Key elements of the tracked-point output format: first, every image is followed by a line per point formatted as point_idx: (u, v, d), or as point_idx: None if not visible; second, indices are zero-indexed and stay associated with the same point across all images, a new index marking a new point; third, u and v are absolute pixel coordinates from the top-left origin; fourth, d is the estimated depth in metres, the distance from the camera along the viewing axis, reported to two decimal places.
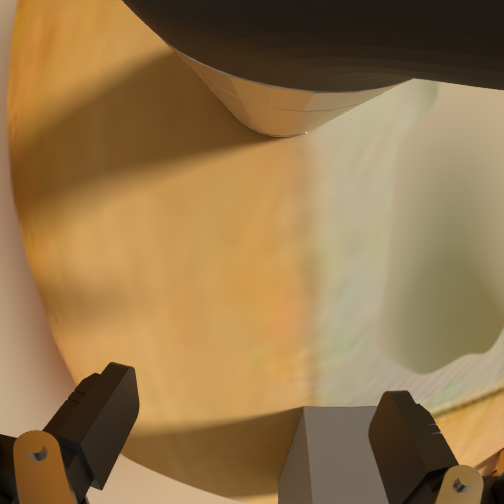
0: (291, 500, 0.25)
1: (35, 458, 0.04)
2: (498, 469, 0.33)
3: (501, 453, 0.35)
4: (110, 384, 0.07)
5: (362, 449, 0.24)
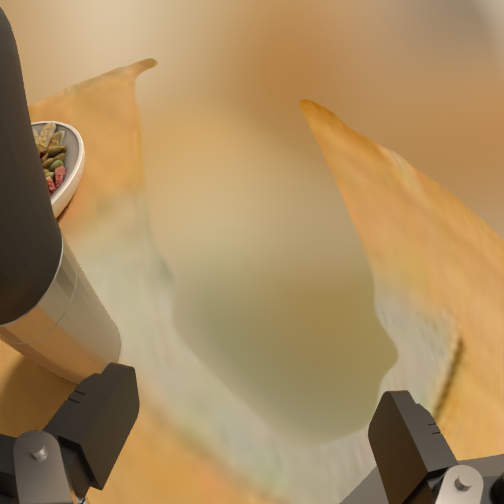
0: None
1: (35, 458, 0.04)
2: None
3: None
4: (110, 384, 0.07)
5: None
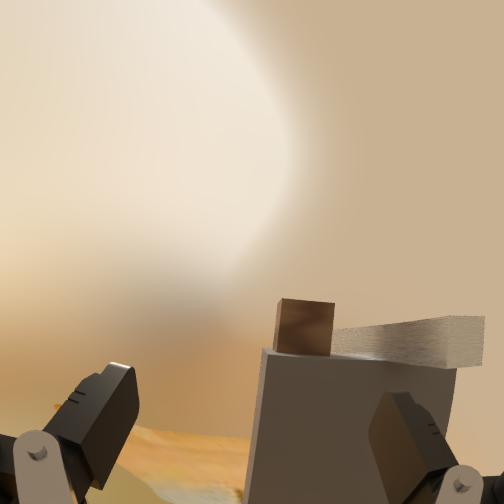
0: None
1: (35, 458, 0.04)
2: None
3: None
4: (110, 384, 0.07)
5: None
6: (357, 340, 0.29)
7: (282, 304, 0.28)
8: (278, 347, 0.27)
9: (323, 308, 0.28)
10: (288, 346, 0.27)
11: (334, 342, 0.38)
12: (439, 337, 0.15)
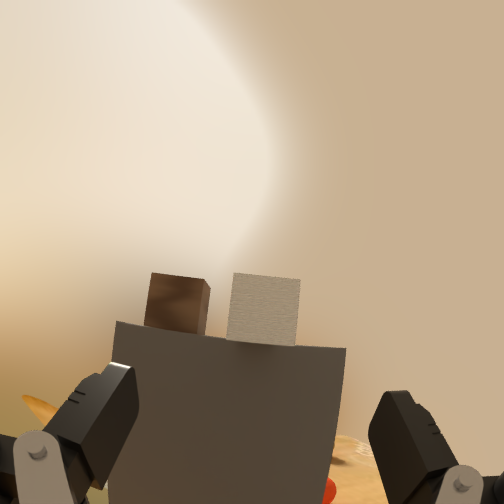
0: None
1: (35, 458, 0.04)
2: None
3: None
4: (110, 384, 0.07)
5: None
6: None
7: (151, 278, 0.27)
8: (145, 321, 0.26)
9: (191, 283, 0.27)
10: (154, 321, 0.26)
11: None
12: None
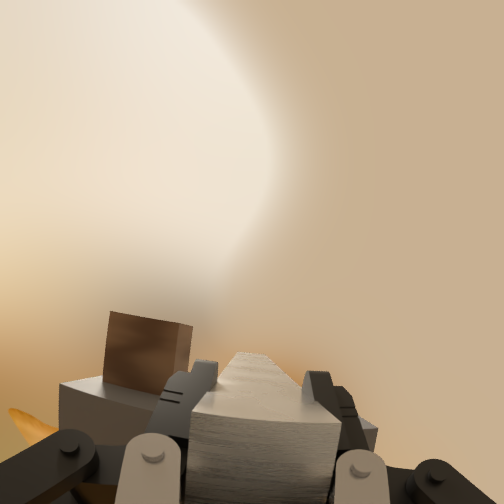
0: None
1: (157, 462, 0.05)
2: None
3: None
4: (205, 379, 0.08)
5: None
6: None
7: (110, 319, 0.19)
8: (104, 375, 0.18)
9: (162, 329, 0.19)
10: (115, 376, 0.18)
11: None
12: None
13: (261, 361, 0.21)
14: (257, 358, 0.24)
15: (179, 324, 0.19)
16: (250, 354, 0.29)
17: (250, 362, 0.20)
